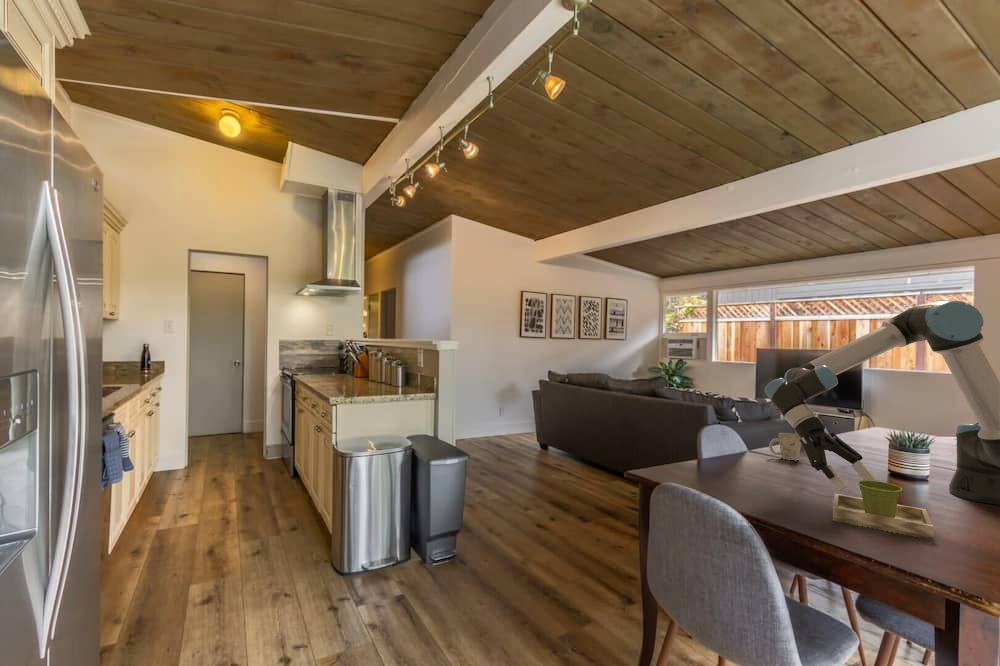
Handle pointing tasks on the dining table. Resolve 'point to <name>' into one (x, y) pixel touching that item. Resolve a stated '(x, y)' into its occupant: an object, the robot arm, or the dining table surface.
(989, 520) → the dining table surface
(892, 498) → the plant pot
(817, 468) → the robot arm
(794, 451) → the mug
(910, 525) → the tray
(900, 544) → the dining table surface
